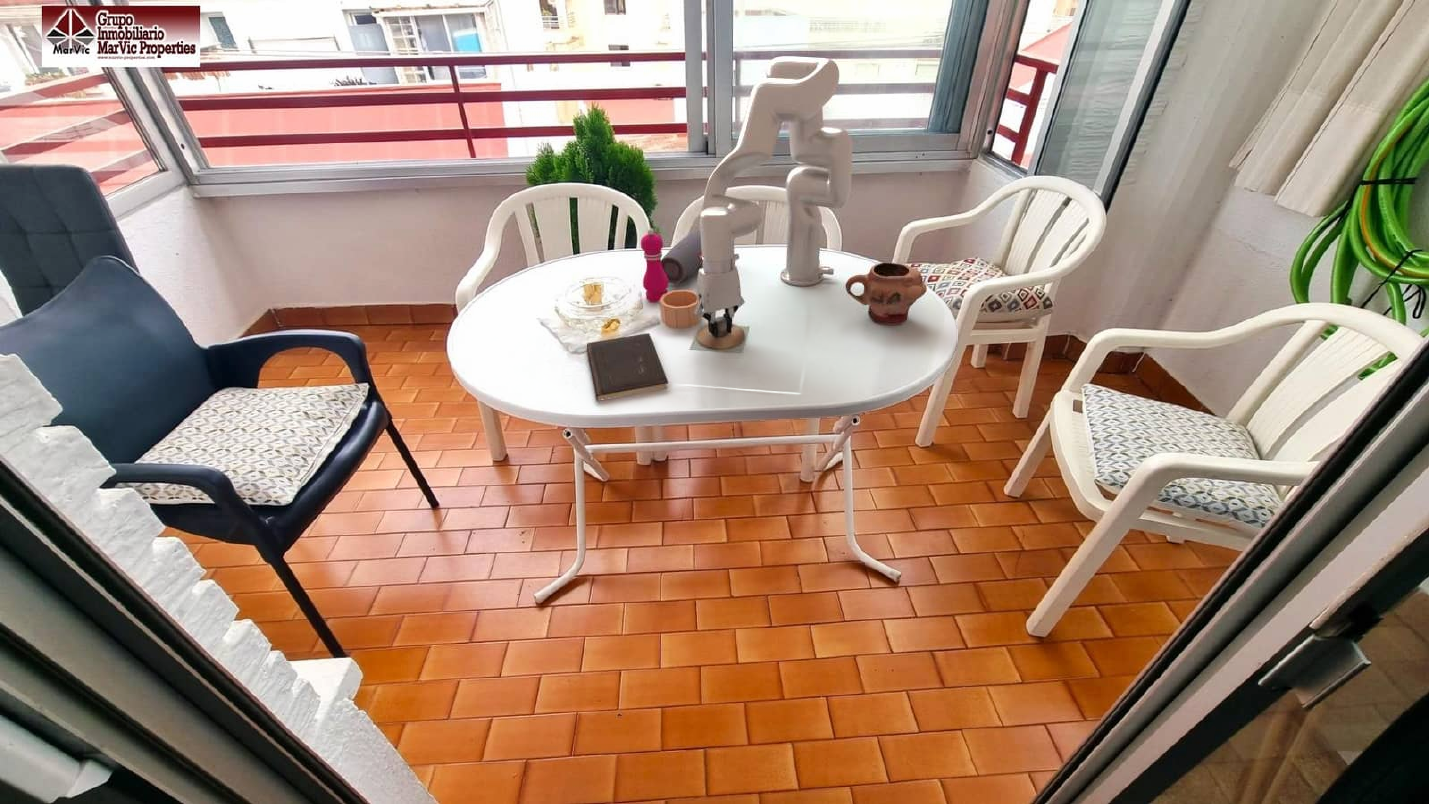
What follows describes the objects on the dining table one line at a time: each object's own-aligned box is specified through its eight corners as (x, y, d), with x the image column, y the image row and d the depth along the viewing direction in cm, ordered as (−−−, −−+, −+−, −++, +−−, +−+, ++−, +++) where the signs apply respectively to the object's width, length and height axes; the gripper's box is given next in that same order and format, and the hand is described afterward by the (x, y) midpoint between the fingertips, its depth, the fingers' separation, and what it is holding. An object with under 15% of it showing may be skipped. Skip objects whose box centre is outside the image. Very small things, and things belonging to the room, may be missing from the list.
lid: (747, 326, 148) (747, 309, 146) (741, 350, 139) (741, 333, 136) (701, 323, 150) (700, 307, 147) (692, 347, 141) (691, 330, 138)
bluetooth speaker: (687, 289, 169) (685, 257, 163) (658, 285, 171) (655, 253, 165) (714, 260, 185) (713, 229, 180) (688, 257, 188) (686, 227, 182)
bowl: (704, 310, 157) (703, 290, 154) (696, 330, 149) (695, 309, 145) (667, 308, 159) (666, 288, 155) (657, 327, 150) (655, 307, 147)
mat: (749, 327, 149) (749, 326, 149) (742, 354, 139) (742, 352, 138) (700, 324, 151) (700, 323, 151) (689, 350, 141) (689, 349, 141)
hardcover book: (650, 340, 146) (649, 332, 145) (669, 390, 128) (668, 381, 127) (586, 351, 143) (585, 343, 142) (597, 403, 125) (595, 395, 124)
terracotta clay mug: (846, 330, 146) (852, 279, 138) (838, 308, 156) (844, 259, 148) (925, 328, 146) (936, 277, 138) (913, 306, 156) (922, 257, 147)
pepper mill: (671, 291, 167) (666, 224, 156) (667, 303, 162) (661, 233, 150) (647, 291, 168) (639, 223, 156) (642, 302, 162) (634, 233, 151)
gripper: (741, 250, 138) (742, 318, 149) (679, 265, 133) (684, 334, 144) (757, 261, 133) (756, 330, 144) (693, 276, 127) (697, 348, 138)
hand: (720, 331), depth 144 cm, fingers closed on lid, 3 cm apart
